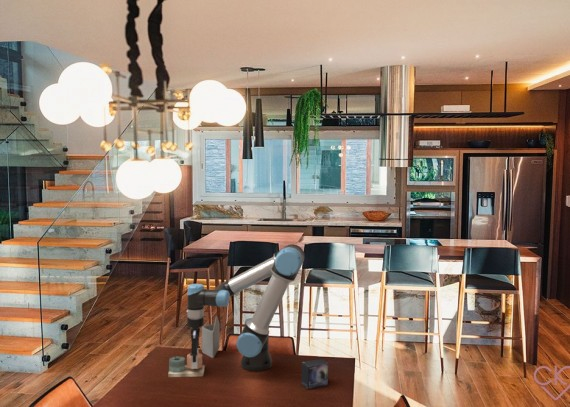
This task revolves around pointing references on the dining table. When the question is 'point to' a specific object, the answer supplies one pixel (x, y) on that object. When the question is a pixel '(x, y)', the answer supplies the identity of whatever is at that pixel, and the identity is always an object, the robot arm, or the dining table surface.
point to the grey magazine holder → (211, 338)
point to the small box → (314, 374)
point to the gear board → (196, 372)
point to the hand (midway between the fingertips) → (195, 365)
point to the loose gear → (199, 362)
